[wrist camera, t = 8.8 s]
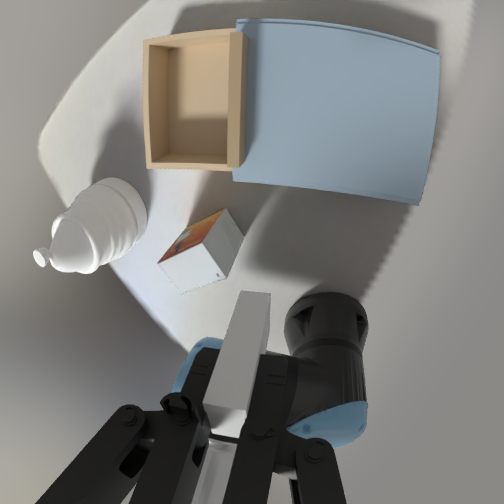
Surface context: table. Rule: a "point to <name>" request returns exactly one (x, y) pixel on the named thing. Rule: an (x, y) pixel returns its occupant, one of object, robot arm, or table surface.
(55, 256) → the honey pot
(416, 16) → the table surface
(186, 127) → the tray
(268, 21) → the lid
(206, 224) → the small box
